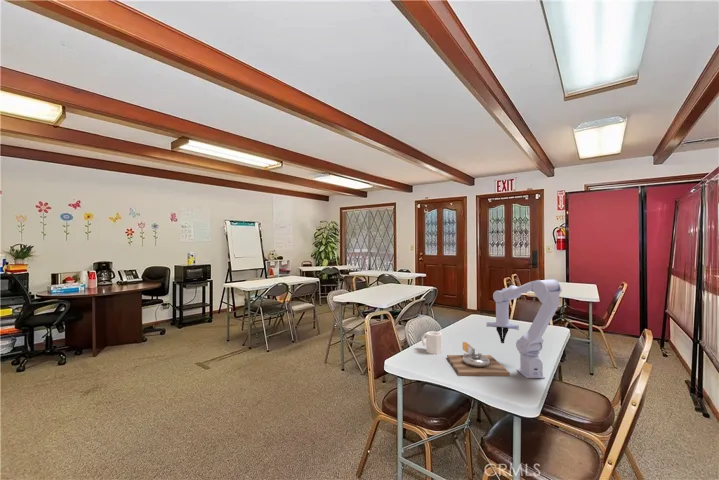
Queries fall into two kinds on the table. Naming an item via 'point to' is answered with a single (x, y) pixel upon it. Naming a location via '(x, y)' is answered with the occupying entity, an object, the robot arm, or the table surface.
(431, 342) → the mug
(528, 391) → the table surface
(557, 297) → the robot arm
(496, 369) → the base plate
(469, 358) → the silver orange handled piece
